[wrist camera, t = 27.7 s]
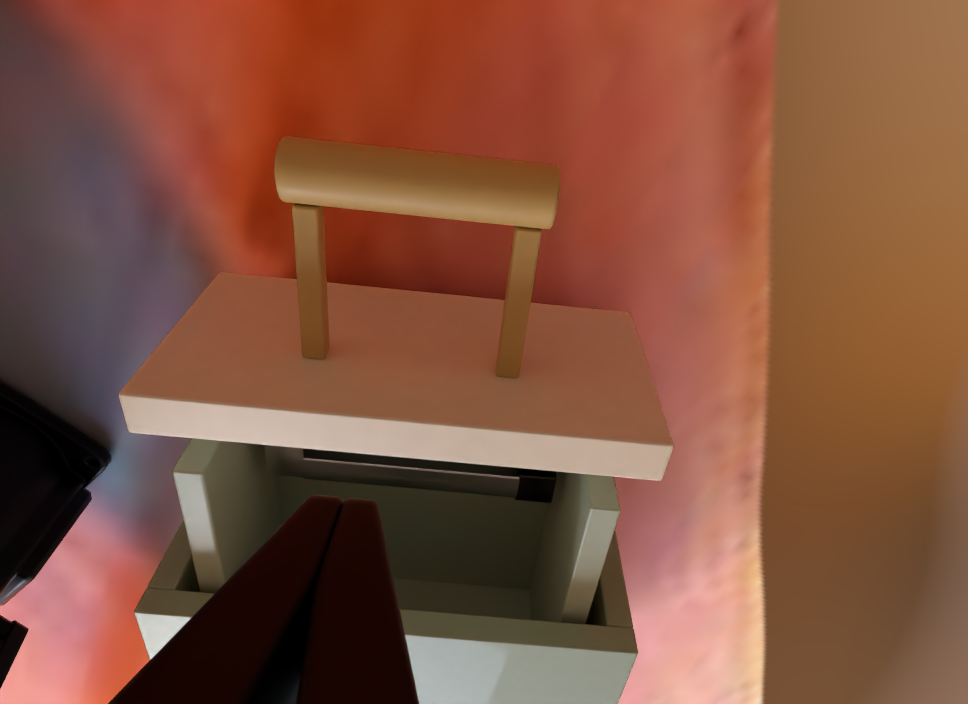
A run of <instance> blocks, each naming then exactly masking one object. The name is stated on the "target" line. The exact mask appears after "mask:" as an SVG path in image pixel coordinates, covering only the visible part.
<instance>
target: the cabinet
mask: <svg viewBox="0 0 968 704" xmlns="http://www.w3.org/2000/svg"><path fill="white" fill-rule="evenodd" d="M213 595H214V593H202V592H200V588H199V583H198V579H197V575H196V571H195V566H194V562H193V558H192V553H191V549H190V545H189V540H188V536H187V532H186V528H185V523H184V520H183V522H182V524H181V526H180V528H179V529H178V531H177V533H176V535H175V537H174V539H173V540H172V542H171V544H170V546H169V548H168V550H167V551H166V553H165V555H164V557H163V559H162V561H161V563H160V564H159V566H158V568H157V570H156V572H155V574H154V575H153V577H152V579H151V581H150V583H149V585H148V588H147V589H146V590H145V592H144V594H143V596H142V598H141V600H140V601H139V603H138V605H137V607H136V609H135V611H134V614H135V617H136V620H137V623H138V626H139V629H140V632H141V635H142V638H143V641H144V644H145V647H146V650H147V653H148V656H149V659H150V660H151V659H152V658H153V657H154V656H155V655H156V654H157V653H158V652H159V651H160V650H161V649H162V648H163V646H164V645H165V644H166V643H167V642H168V641H169V640H170V639H171V638H172V637H173V636H174V635H175V634H176V633H177V632H178V631H179V630H180V629H181V628H182V627H183V626H184V625H185V624H186V623H187V622H188V621H189V620H190V619H191V618H192V617H193V616H194V614H195V613H196V612H197V611H198V610H199V609H200V608H201V607H202V606H203V605H204V604H205V603H206V602H207V601H208V600H209V599H210V598H211V597H212V596H213ZM400 612H401V617H402V622H403V627H404V632H405V637H406V641H407V646H408V651H409V656H410V661H411V666H412V671H413V675H414V680H415V685H416V690H417V695H418V700H419V704H618V701H619V699H620V697H621V694H622V692H623V689H624V687H625V684H626V682H627V679H628V677H629V674H630V672H631V669H632V667H633V664H634V662H635V659H636V657H637V654H638V650H637V644H636V639H635V634H634V629H633V624H632V619H631V613H630V608H629V602H628V597H627V592H626V586H625V581H624V575H623V570H622V565H621V559H620V554H619V549H618V543H617V538H616V532H615V530H614V533H613V536H612V539H611V543H610V546H609V549H608V552H607V556H606V559H605V562H604V565H603V568H602V572H601V575H600V578H599V581H598V585H597V588H596V591H595V594H594V597H593V601H592V604H591V607H590V610H589V614H588V617H587V620H586V623H585V624H574V623H562V622H550V621H538V620H526V619H514V618H502V617H490V616H478V615H466V614H454V613H442V612H430V611H418V610H406V609H400Z"/></svg>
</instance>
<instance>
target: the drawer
mask: <svg viewBox="0 0 968 704" xmlns="http://www.w3.org/2000/svg"><path fill="white" fill-rule="evenodd" d="M274 176H275V185H276V190H277V193H278V196H279V198H280V199H281V200H282V201H284V202H288V203H294V204H293V206H292V218H293V232H294V246H295V261H296V275H297V279H289V278H279V277H269V276H259V275H249V274H239V273H229V272H219V273H218V275H217V276H216V277H215V278H214V279H213V281H212V282H211V283H210V284H209V285H208V287H207V288H206V289H205V290H204V291H203V293H202V294H201V295H200V296H199V297H198V299H197V300H196V301H195V302H194V303H193V305H192V306H191V307H190V308H189V309H188V311H187V312H186V313H185V314H184V315H183V317H182V318H181V319H180V320H179V321H178V323H177V324H176V325H175V326H174V327H173V329H172V330H171V331H170V332H169V333H168V335H167V336H166V337H165V338H164V339H163V341H162V342H161V343H160V344H159V345H158V347H157V348H156V349H155V350H154V351H153V353H152V354H151V355H150V356H149V357H148V359H147V360H146V361H145V362H144V363H143V365H142V366H141V367H140V368H139V369H138V371H137V372H136V373H135V374H134V375H133V377H132V378H131V379H130V380H129V381H128V383H127V384H126V385H125V386H124V387H123V389H122V390H121V391H120V392H119V399H120V402H121V406H122V410H123V413H124V417H125V421H126V424H127V428H128V431H129V432H131V433H141V434H152V435H163V436H174V437H185V438H192V439H191V440H190V442H189V444H188V445H187V447H186V449H185V450H184V452H183V453H182V455H181V457H180V458H179V460H178V462H177V463H176V465H175V467H174V468H173V476H174V480H175V485H176V489H177V493H178V498H179V502H180V506H181V510H182V515H183V519H184V523H185V528H186V532H187V536H188V540H189V545H190V549H191V553H192V558H193V562H194V566H195V571H196V575H197V579H198V583H199V588H200V592H202V593H214V594H215V593H216V592H217V591H218V590H219V589H220V588H221V587H222V586H223V585H224V584H225V582H226V581H227V580H228V579H229V578H230V577H231V576H232V575H233V574H234V573H235V572H236V571H237V570H238V569H239V568H240V567H241V566H242V565H243V564H244V563H245V562H246V561H247V560H248V559H249V558H250V557H251V556H252V555H253V554H254V553H255V552H256V551H257V549H258V548H259V547H260V546H261V545H262V544H263V543H264V542H265V541H266V540H267V539H268V538H269V537H270V536H271V535H272V534H273V533H274V532H275V531H276V530H277V529H278V528H279V527H280V526H281V525H282V524H283V523H284V522H285V521H286V520H287V518H288V517H289V516H290V515H291V514H292V513H293V512H294V511H295V510H296V509H297V508H298V507H299V506H300V505H301V504H302V503H303V502H304V501H305V500H306V499H307V498H308V497H310V496H312V495H325V496H336V497H340V498H342V499H343V501H345V500H346V499H348V498H357V499H368V500H374V501H376V502H377V503H378V506H379V511H380V515H381V520H382V525H383V530H384V535H385V540H386V544H387V549H388V554H389V559H390V564H391V569H392V574H393V578H394V583H395V588H396V593H397V598H398V603H399V608H400V609H406V610H418V611H430V612H442V613H454V614H466V615H478V616H490V617H502V618H514V619H526V620H538V621H550V622H562V623H574V624H585V623H586V620H587V617H588V614H589V610H590V607H591V604H592V601H593V597H594V594H595V591H596V588H597V585H598V581H599V578H600V575H601V572H602V568H603V565H604V562H605V559H606V556H607V552H608V549H609V546H610V543H611V539H612V536H613V533H614V530H615V527H616V523H617V520H618V517H619V514H620V505H619V500H618V495H617V490H616V485H615V480H614V477H624V478H635V479H646V480H657V481H661V480H662V479H663V476H664V473H665V470H666V467H667V465H668V462H669V459H670V456H671V453H672V450H673V447H674V443H673V440H672V437H671V434H670V431H669V428H668V425H667V422H666V419H665V416H664V413H663V410H662V407H661V404H660V401H659V398H658V395H657V392H656V389H655V386H654V383H653V380H652V377H651V374H650V371H649V368H648V365H647V362H646V359H645V356H644V353H643V350H642V347H641V344H640V341H639V338H638V335H637V332H636V329H635V326H634V323H633V320H632V317H631V314H630V313H629V312H620V311H610V310H600V309H590V308H580V307H570V306H560V305H550V304H540V303H531V298H532V292H533V285H534V279H535V273H536V267H537V260H538V254H539V248H540V241H541V235H542V231H541V229H551V228H552V226H553V224H554V221H555V217H556V212H557V206H558V200H559V191H560V169H559V166H557V165H555V164H546V163H536V162H527V161H517V160H508V159H499V158H489V157H480V156H471V155H461V154H452V153H443V152H433V151H424V150H414V149H405V148H396V147H386V146H377V145H368V144H358V143H349V142H340V141H330V140H321V139H311V138H302V137H293V136H285V137H283V138H281V140H280V141H279V144H278V147H277V151H276V155H275V165H274ZM324 206H327V207H336V208H346V209H356V210H365V211H375V212H385V213H394V214H404V215H414V216H423V217H433V218H443V219H452V220H462V221H472V222H481V223H491V224H501V225H510V226H514V234H513V241H512V249H511V256H510V264H509V271H508V279H507V286H506V294H505V300H500V299H490V298H480V297H470V296H460V295H450V294H440V293H430V292H420V291H410V290H399V289H389V288H379V287H369V286H359V285H349V284H339V283H329V282H327V273H326V249H325V224H324ZM264 445H273V446H284V447H295V448H306V449H316V450H327V451H338V452H349V453H360V454H371V455H382V456H393V457H404V458H415V459H426V460H437V461H448V462H459V463H470V464H481V465H492V466H503V467H514V468H525V469H536V470H547V471H556V475H557V481H556V485H555V490H554V494H553V499H552V502H551V503H545V502H533V501H522V500H515V498H514V497H503V496H492V495H481V494H469V493H458V492H447V491H436V490H424V489H413V488H402V487H391V486H379V485H368V484H357V483H346V482H334V481H323V480H312V479H304V478H303V477H292V476H280V475H269V474H268V472H267V463H266V455H265V447H264Z"/></svg>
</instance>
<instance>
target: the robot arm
mask: <svg viewBox="0 0 968 704" xmlns="http://www.w3.org/2000/svg"><path fill="white" fill-rule="evenodd" d="M110 461H111V455H110V454H109V452H107V451H106V450H105V449H103V448H102V447H100V446H99V445H97V444H96V443H94V442H92V441H91V440H89V439H88V438H86V437H85V436H83V435H81V434H80V433H78V432H77V431H75V430H73V429H72V428H70V427H69V426H67V425H66V424H64V423H62V422H61V421H59V420H58V419H56V418H55V417H53V416H51V415H50V414H48V413H47V412H45V411H44V410H42V409H40V408H39V407H37V406H36V405H34V404H32V403H31V402H29V401H28V400H26V399H25V398H23V397H21V396H20V395H18V394H17V393H15V392H14V391H12V390H10V389H9V388H7V387H6V386H4V385H3V384H1V383H0V606H1V605H4V604H5V603H7V602H8V601H9V600H10V599H11V598H12V597H14V596H15V595H16V594H17V593H18V592H19V591H20V590H22V589H23V588H24V587H25V586H26V585H27V584H29V583H30V582H31V581H32V580H33V579H34V578H35V577H36V575H37V574H38V573H39V571H40V570H41V569H42V567H43V566H44V564H45V563H46V562H47V560H48V559H49V558H50V556H51V555H52V553H53V552H54V551H55V549H56V548H57V547H58V545H59V544H60V542H61V541H62V540H63V538H64V537H65V536H66V534H67V533H68V531H69V530H70V529H71V527H72V526H73V524H74V523H75V522H76V520H77V519H78V518H79V516H80V515H81V513H82V512H83V511H84V509H85V508H86V507H87V505H88V504H89V502H90V501H91V500H92V498H91V492H90V491H88V490H86V489H85V487H86V486H87V485H89V484H90V483H91V482H92V481H93V480H94V479H95V478H96V477H97V476H98V475H99V474H100V473H102V472H103V471H104V470H105V468H106V467H107V466H108V464H109V463H110ZM27 632H28V628H27V627H25V626H23V625H22V624H20V623H18V622H17V621H12V622H11V621H9V620H7V619H6V618H4V617H3V616H1V615H0V688H1V686H2V684H3V682H4V680H5V678H6V676H7V674H8V672H9V670H10V668H11V666H12V663H13V661H14V659H15V657H16V655H17V653H18V651H19V649H20V647H21V645H22V643H23V640H24V638H25V636H26V634H27ZM108 704H419V700H418V695H417V690H416V685H415V680H414V675H413V671H412V666H411V661H410V656H409V651H408V646H407V641H406V637H405V632H404V627H403V622H402V617H401V612H400V608H399V603H398V598H397V593H396V588H395V583H394V578H393V574H392V569H391V564H390V559H389V554H388V549H387V544H386V540H385V535H384V530H383V525H382V520H381V515H380V511H379V506H378V503H377V502H376V501H374V500H368V499H357V498H348V499H346V500H345V501H343V499H342V498H340V497H336V496H325V495H312V496H310V497H308V498H307V499H306V500H305V501H304V502H303V503H302V504H301V505H300V506H299V507H298V508H297V509H296V510H295V511H294V512H293V513H292V514H291V515H290V516H289V517H288V518H287V520H286V521H285V522H284V523H283V524H282V525H281V526H280V527H279V528H278V529H277V530H276V531H275V532H274V533H273V534H272V535H271V536H270V537H269V538H268V539H267V540H266V541H265V542H264V543H263V544H262V545H261V546H260V547H259V548H258V549H257V551H256V552H255V553H254V554H253V555H252V556H251V557H250V558H249V559H248V560H247V561H246V562H245V563H244V564H243V565H242V566H241V567H240V568H239V569H238V570H237V571H236V572H235V573H234V574H233V575H232V576H231V577H230V578H229V579H228V580H227V581H226V582H225V584H224V585H223V586H222V587H221V588H220V589H219V590H218V591H217V592H216V593H215V594H214V595H213V596H212V597H211V598H210V599H209V600H208V601H207V602H206V603H205V604H204V605H203V606H202V607H201V608H200V609H199V610H198V611H197V612H196V613H195V614H194V616H193V617H192V618H191V619H190V620H189V621H188V622H187V623H186V624H185V625H184V626H183V627H182V628H181V629H180V630H179V631H178V632H177V633H176V634H175V635H174V636H173V637H172V638H171V639H170V640H169V641H168V642H167V643H166V644H165V645H164V646H163V648H162V649H161V650H160V651H159V652H158V653H157V654H156V655H155V656H154V657H153V658H152V659H151V660H150V661H149V662H148V663H147V664H146V665H145V666H144V667H143V668H142V669H141V670H140V671H139V672H138V673H137V674H136V675H135V676H134V677H133V678H132V679H131V681H130V682H129V683H128V684H127V685H126V686H125V687H124V688H123V689H122V690H121V691H120V692H119V693H118V694H117V695H116V696H115V697H114V698H113V699H112V700H111V701H110V702H109V703H108Z"/></svg>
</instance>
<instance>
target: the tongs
mask: <svg viewBox="0 0 968 704" xmlns="http://www.w3.org/2000/svg"><path fill="white" fill-rule="evenodd" d="M264 447H265V455H266V463H267V472H268V474H269V475H280V476H292V477H303V478H304V479H312V480H323V481H334V482H346V483H357V484H368V485H379V486H391V487H402V488H413V489H424V490H436V491H447V492H458V493H469V494H481V495H492V496H503V497H514V498H515V500H522V501H533V502H545V503H551V502H552V499H553V494H554V490H555V485H556V481H557V475H556V471H547V470H536V469H525V468H514V467H503V466H492V465H481V464H470V463H459V462H448V461H437V460H426V459H415V458H404V457H393V456H382V455H371V454H360V453H349V452H338V451H327V450H316V449H306V448H295V447H284V446H273V445H264Z"/></svg>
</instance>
